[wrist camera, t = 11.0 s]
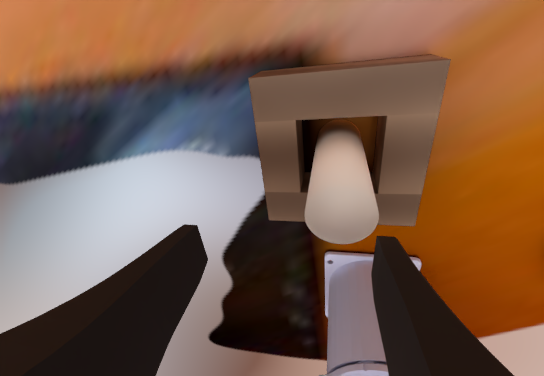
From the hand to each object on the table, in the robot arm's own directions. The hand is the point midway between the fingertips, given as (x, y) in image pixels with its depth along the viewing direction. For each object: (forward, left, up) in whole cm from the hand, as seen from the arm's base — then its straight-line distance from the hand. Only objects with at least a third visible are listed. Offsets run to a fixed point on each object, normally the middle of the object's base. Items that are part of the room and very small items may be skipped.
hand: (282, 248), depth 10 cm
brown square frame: (+1, -2, -10) cm, 11 cm away
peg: (+1, -2, -10) cm, 11 cm away
